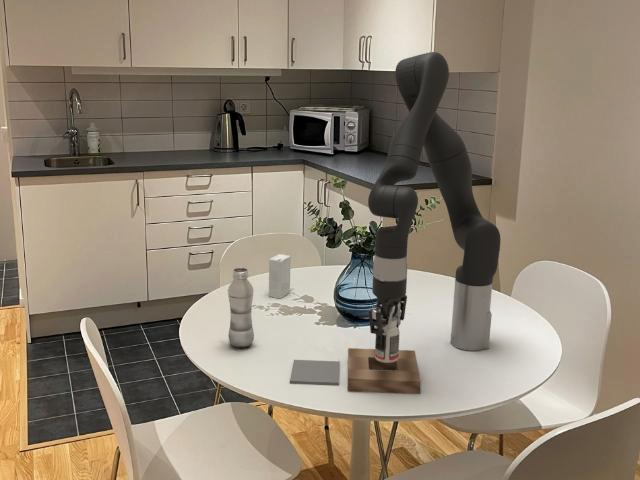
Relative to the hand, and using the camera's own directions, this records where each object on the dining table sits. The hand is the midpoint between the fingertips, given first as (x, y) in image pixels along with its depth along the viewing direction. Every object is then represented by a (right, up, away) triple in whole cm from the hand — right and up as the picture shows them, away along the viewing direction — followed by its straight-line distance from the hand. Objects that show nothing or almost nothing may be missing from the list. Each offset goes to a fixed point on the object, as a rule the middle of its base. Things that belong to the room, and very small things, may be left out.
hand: (386, 344), depth 161 cm
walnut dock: (-1, -8, +3) cm, 8 cm away
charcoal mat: (-16, -7, +3) cm, 18 cm away
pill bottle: (0, -4, +1) cm, 4 cm away
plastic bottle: (-35, -3, +18) cm, 39 cm away
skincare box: (-27, +7, +53) cm, 60 cm away
